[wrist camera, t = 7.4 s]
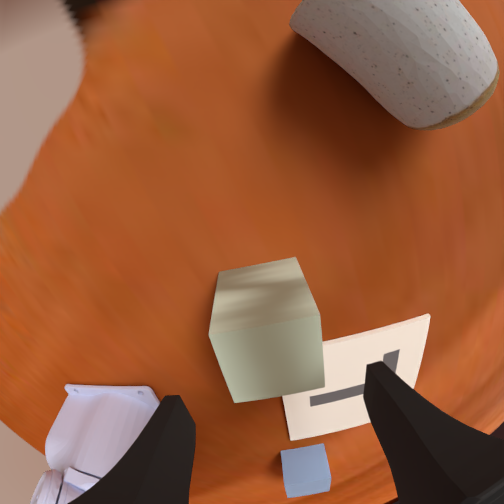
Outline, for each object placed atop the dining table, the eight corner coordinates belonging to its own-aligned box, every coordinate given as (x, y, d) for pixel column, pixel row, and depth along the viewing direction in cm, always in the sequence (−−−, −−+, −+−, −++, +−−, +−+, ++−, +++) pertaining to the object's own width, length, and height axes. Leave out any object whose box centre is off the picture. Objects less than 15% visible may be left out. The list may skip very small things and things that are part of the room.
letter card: (290, 437, 23) (290, 440, 23) (273, 351, 19) (274, 355, 19) (405, 407, 23) (406, 410, 23) (428, 313, 19) (430, 316, 18)
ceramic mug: (388, 141, 14) (483, 149, 7) (275, 44, 12) (305, -31, 5) (459, 44, 12) (537, 25, 4) (371, -39, 10) (424, -95, 2)
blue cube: (284, 466, 26) (287, 498, 22) (280, 450, 25) (284, 485, 20) (322, 459, 26) (329, 490, 22) (323, 442, 24) (331, 477, 20)
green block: (236, 332, 18) (234, 402, 13) (218, 271, 17) (208, 334, 11) (304, 319, 18) (325, 387, 13) (295, 256, 17) (319, 314, 11)
